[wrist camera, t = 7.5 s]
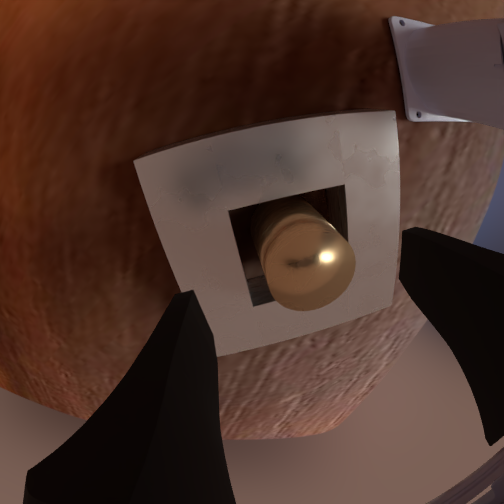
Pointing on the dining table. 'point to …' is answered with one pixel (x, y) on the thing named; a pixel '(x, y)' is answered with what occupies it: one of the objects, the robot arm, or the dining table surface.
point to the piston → (301, 254)
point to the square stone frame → (269, 188)
